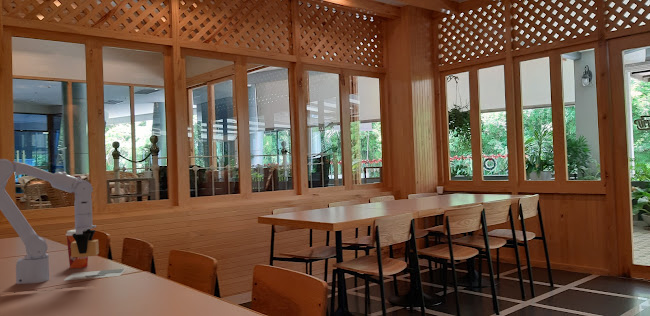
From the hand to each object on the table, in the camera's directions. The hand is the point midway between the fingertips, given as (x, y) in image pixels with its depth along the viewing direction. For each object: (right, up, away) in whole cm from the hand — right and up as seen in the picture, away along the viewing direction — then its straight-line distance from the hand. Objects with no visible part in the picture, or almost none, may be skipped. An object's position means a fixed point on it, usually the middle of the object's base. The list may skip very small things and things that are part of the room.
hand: (84, 252), depth 182 cm
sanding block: (0, -1, 0) cm, 1 cm away
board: (+5, -9, -1) cm, 10 cm away
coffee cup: (-9, -10, +14) cm, 19 cm away
